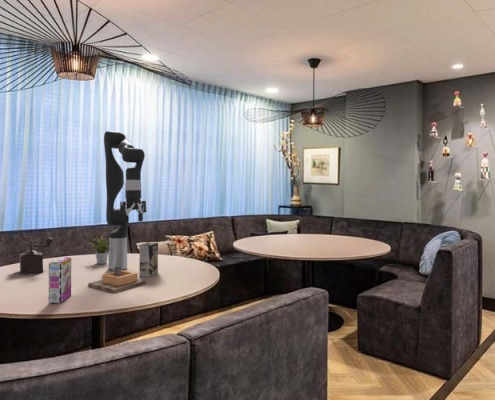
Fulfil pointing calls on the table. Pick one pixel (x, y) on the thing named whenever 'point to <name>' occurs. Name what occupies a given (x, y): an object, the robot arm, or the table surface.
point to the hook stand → (115, 288)
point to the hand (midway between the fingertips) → (133, 222)
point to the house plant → (101, 251)
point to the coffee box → (148, 259)
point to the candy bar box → (59, 280)
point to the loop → (120, 278)
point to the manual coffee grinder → (33, 259)
